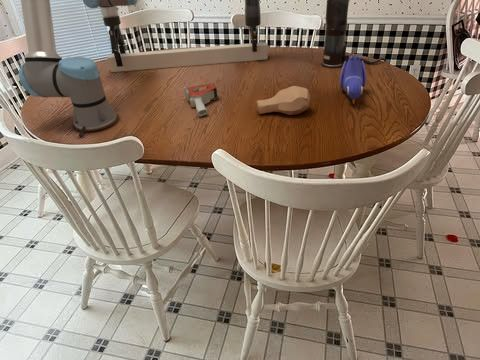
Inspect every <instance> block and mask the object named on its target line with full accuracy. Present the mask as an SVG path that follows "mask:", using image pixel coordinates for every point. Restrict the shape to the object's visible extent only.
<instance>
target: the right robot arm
mask: <svg viewBox="0 0 480 360" xmlns="http://www.w3.org/2000/svg"><path fill="white" fill-rule="evenodd" d="M350 1H351V0H326V5H325V6H326V7H325V28H324V29H325V30H324V31H325V32H324V42H323V55H322V64H321V65H322V66H323V67H327V68H339V67H341V66H343V64H344V62H345V61H346V62H348V61H349V57H350V55H349V54H347V53H346V51H347V43H346V34H347V27H348V26H347V25H348V12H349V5H350V4H349V3H350ZM260 3H261V1H260V0H244V24H245V26H246V27H248V37H249V40H250V42H249V44H250V43H252V51H253V52H257V44H258V43H259V41H258V37H259V36H258V28H257V27H258V26H261V4H260ZM359 59H360V61H361V62H362V60H363V62H364V63H366V64H370V65H376V64H378V63H379V62H381V61H383V62H385V63H386V62H387V60H386V58H384V57H380V58H379V59H377V60H374V61H369V60H367V59H365V58H359Z"/></svg>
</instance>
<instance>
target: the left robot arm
mask: <svg viewBox="0 0 480 360" xmlns="http://www.w3.org/2000/svg"><path fill="white" fill-rule="evenodd" d="M82 2H83V4H84V5H85V6H86V7H87V8H89V9H98V8H99V9H100V13H101V16H102V20H103V24H104V26H105V27H109V30H108V31H107V32H108V36H109V43H110V47H111V55H112V54H114V56H115V60H116V64H117V67H121V66H123V64H122V60H121V56H120V54H124V53H127V52H126V48H125V46H126V42H125V39H124V37H123V34H122V31H121V27H120V25H122V22H121V18H120V14H119V7H130V6H135V5H137V3H138V0H82ZM20 4H21V12H22V18H23V25H24V32H25V38H26V45H27V51H28V52H27V53H26V54H25V55H24V57H23V58H24V63H22V64H21V65H20V66H19V69H18V79H19V81H20V84H21V86H22V88H23V89H24V91H26V92H27V93H28V94H29V95H31V96H33V97H37V98H44V99H45V98H69V99H70V101H71V104H72V108H73V114H72V117H73V118H72V119H73V125H74V128H75V129H76V131H78V132H79V134H78V135H77V136H78V137H80V138H81V137H82V135H83V133H92V132H99V131H102V130H105V129H107V128H110V127H111V126H113V125H115V124H116V122H117V121H118V116H117V113H116V111H115V110H114V108H113V107H112V105H111V103H110V102H109V101H108V99H107V96H106V92H105V89H104V87H103V86H104V85H103V83H102V79H101V73H100V71H99V69H98V66H97V64H96V62H95V61H94V60H93V59H91V58H88V57H84V56H72V57H71V56H68V57H65V58H62V56H61V55H60V54H59V53H57V46H56V38H55V31H54V24H53V16H52V15H53V14H52V8H51V1H50V0H20Z"/></svg>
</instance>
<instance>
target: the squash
mask: <svg viewBox="0 0 480 360" xmlns="http://www.w3.org/2000/svg"><path fill="white" fill-rule="evenodd" d="M311 98H312V97H311V95H310V90H309V89H307V88H306V87H302V86H298V85H292V86H289V87H287V88H283V89H280V90H279V91H277V92H276V94H275V95H274V96H272V97H271V98H265V99H257V100H256V102H255V103H256V107H257V109H256V110H257V113H258V114H259V115H263V114H266V113H273V112H275V113H282V114H284V115H287V116H295V115H300V114H301V113H303V112H305V111H306V110H308V109H309V107H310V102H311Z"/></svg>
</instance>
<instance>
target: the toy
mask: <svg viewBox="0 0 480 360" xmlns="http://www.w3.org/2000/svg"><path fill="white" fill-rule="evenodd" d="M360 59H362V56H361V55H355V56H354V55H349V59H348V61H345V62H344V64H343V65H342V67H341V69H340V72H339V73H340V74H339V86H340V88H342V89H343V91H344V92H345V94H346V95H347V96H348V97H349V98H350V99H351V103H352V105H354V104H355V103H356V100H357V99H358V98H359V97H361V96H362V95H363V93H364V87H365V86H366V83H367V69H366V65H365V62H364V61H363V60H362V61H360Z"/></svg>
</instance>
